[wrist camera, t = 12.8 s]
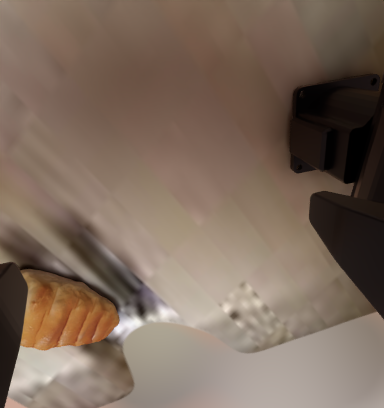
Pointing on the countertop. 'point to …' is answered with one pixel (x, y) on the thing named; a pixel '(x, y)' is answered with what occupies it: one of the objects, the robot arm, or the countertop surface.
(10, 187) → the countertop surface
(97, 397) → the countertop surface
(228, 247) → the countertop surface
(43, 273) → the pastry
